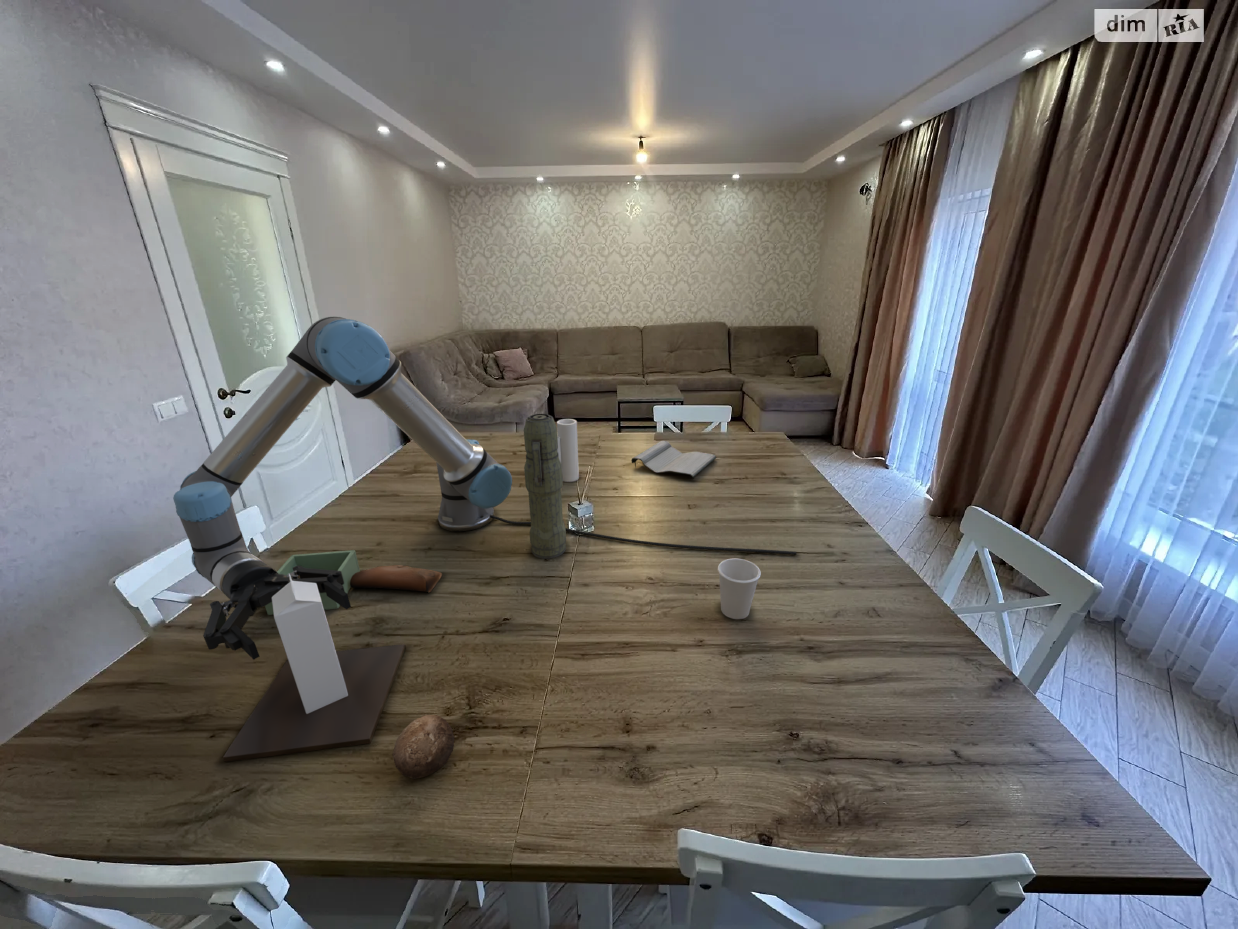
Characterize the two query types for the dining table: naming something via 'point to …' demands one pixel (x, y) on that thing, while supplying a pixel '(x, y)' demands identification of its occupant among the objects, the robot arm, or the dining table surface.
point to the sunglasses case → (396, 578)
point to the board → (335, 725)
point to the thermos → (544, 486)
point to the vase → (568, 449)
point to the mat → (673, 459)
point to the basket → (325, 561)
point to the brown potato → (423, 746)
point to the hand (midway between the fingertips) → (303, 624)
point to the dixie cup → (737, 586)
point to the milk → (308, 644)
